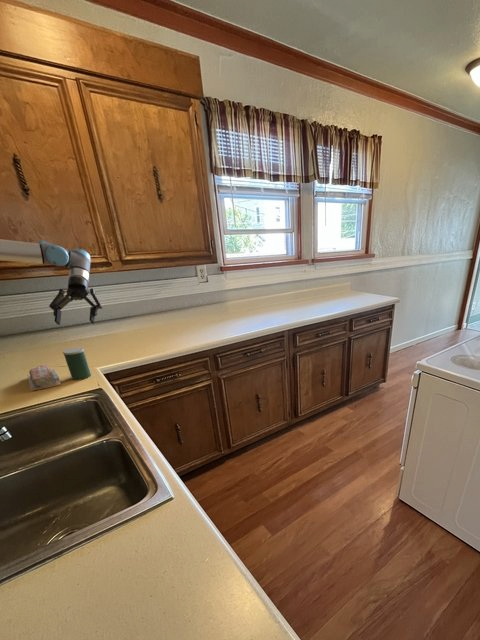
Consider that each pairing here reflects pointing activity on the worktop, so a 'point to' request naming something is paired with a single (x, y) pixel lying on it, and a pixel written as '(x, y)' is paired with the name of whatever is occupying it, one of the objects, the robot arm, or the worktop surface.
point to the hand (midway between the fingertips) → (74, 322)
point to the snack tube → (77, 363)
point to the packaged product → (42, 378)
